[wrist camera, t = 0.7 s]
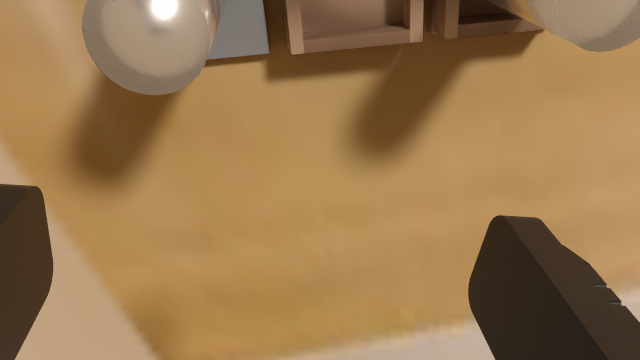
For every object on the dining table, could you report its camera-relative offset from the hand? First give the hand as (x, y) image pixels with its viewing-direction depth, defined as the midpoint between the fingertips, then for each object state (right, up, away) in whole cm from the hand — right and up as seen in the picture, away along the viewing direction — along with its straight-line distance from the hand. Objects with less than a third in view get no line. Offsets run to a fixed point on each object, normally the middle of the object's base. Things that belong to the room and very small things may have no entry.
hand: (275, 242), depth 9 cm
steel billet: (-7, +13, +22) cm, 26 cm away
